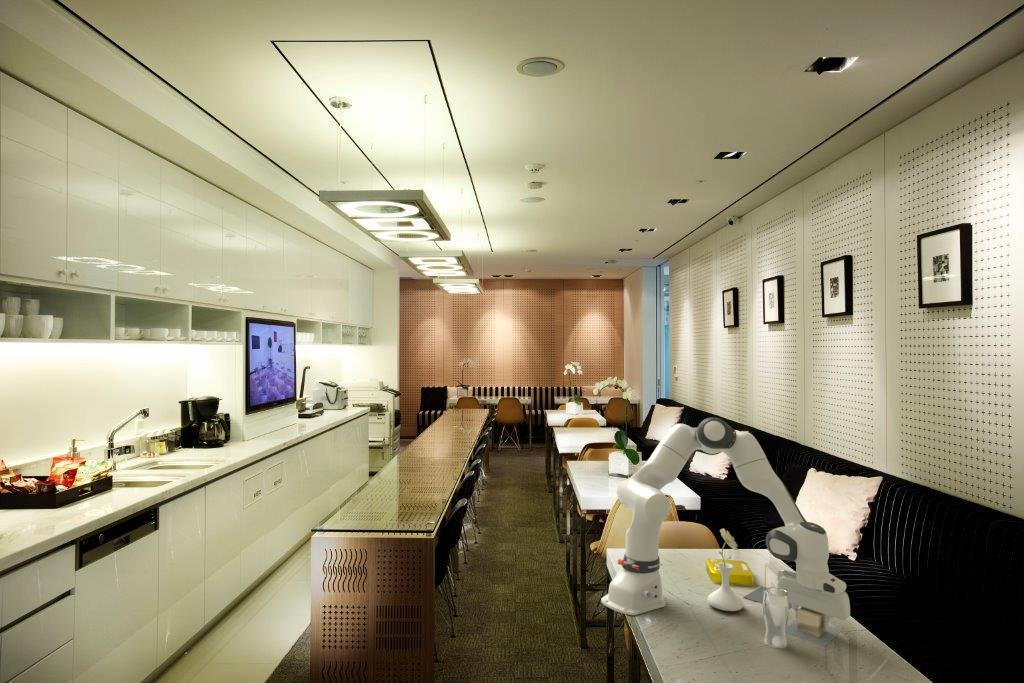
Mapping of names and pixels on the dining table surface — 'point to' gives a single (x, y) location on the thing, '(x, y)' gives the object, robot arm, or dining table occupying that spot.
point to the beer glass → (775, 616)
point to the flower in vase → (725, 582)
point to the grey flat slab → (820, 640)
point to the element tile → (737, 575)
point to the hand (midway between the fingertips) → (811, 623)
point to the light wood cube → (810, 622)
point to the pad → (758, 596)
